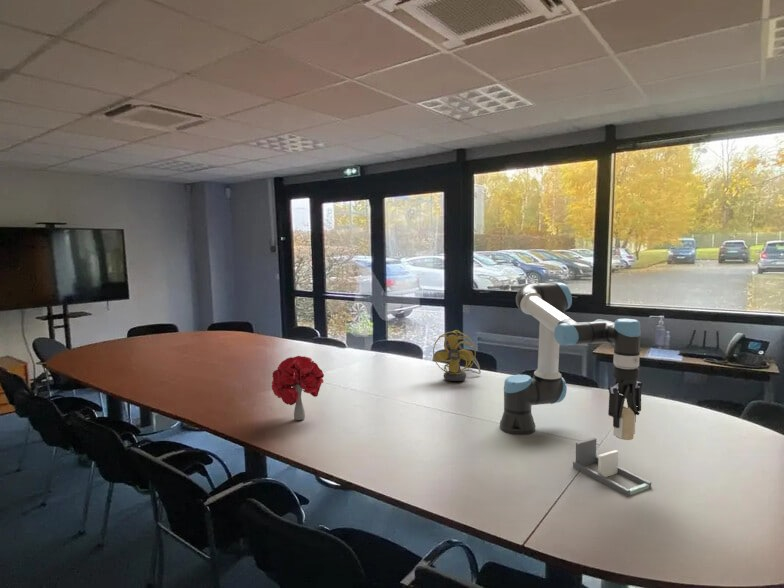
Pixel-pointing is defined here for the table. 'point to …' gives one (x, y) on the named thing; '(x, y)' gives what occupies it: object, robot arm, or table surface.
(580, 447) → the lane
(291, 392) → the bouquet
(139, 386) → the table surface
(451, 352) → the electric fan
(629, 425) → the candle
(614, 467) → the plate
